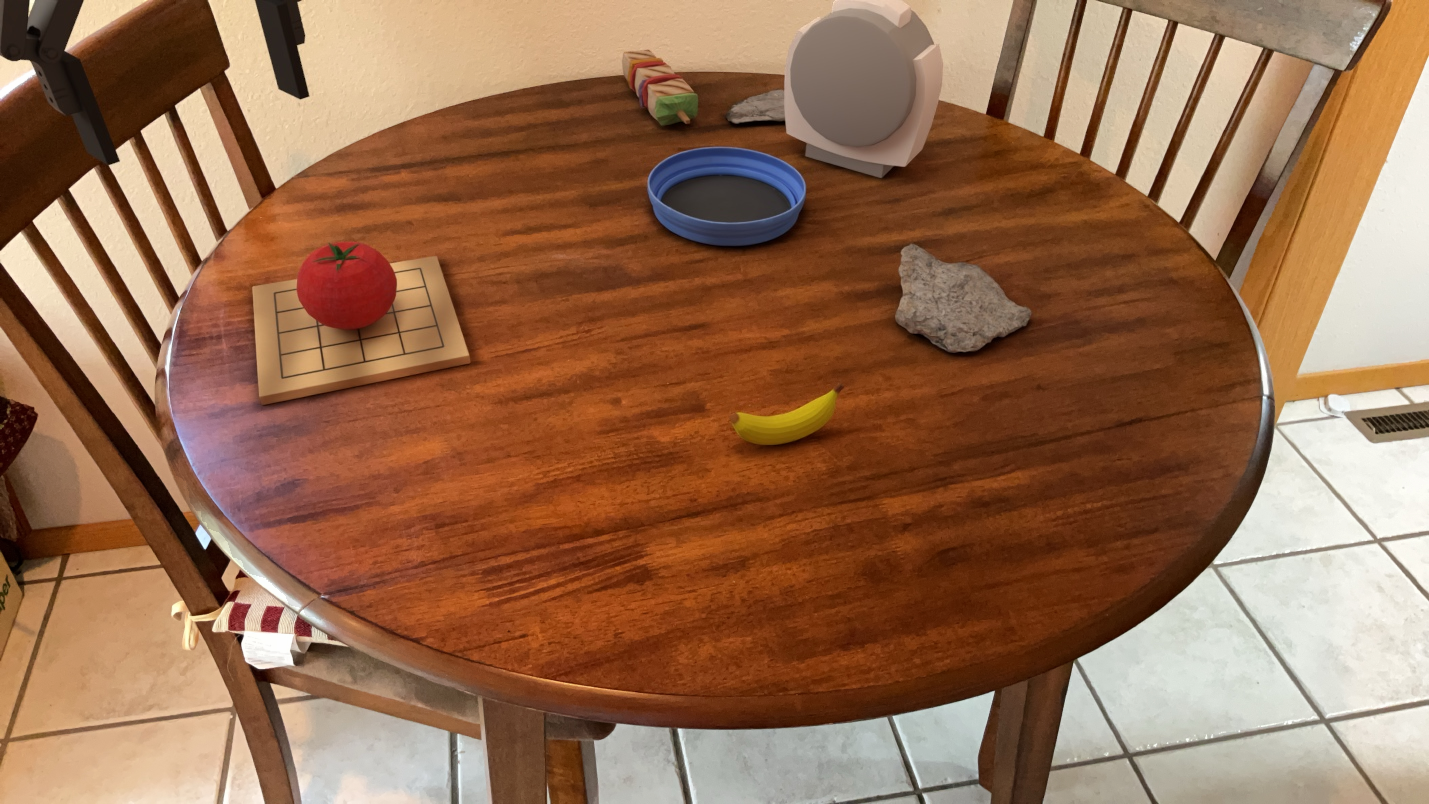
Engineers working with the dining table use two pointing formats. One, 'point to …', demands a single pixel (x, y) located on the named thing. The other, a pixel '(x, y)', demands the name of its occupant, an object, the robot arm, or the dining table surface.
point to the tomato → (346, 285)
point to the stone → (759, 108)
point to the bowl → (726, 195)
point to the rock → (954, 303)
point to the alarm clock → (863, 85)
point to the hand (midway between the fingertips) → (205, 123)
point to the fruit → (786, 421)
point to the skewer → (659, 88)
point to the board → (355, 337)
